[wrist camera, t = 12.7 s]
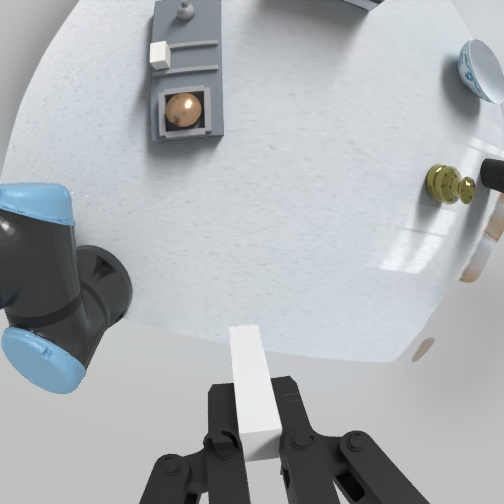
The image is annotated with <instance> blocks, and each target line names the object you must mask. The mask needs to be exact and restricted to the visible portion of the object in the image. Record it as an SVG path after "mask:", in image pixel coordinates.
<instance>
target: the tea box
mask: <svg viewBox="0 0 504 504" xmlns="http://www.w3.org/2000/svg"><path fill="white" fill-rule="evenodd" d="M344 1H346V2H349V3H352V4H355V5H357V6H360V7H362V8H364V9H367V10H369V11H371V10H373V9H374V8H375V7H377V6H378V5H379V4H380V3H382V2H383V1H384V0H344Z"/></svg>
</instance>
